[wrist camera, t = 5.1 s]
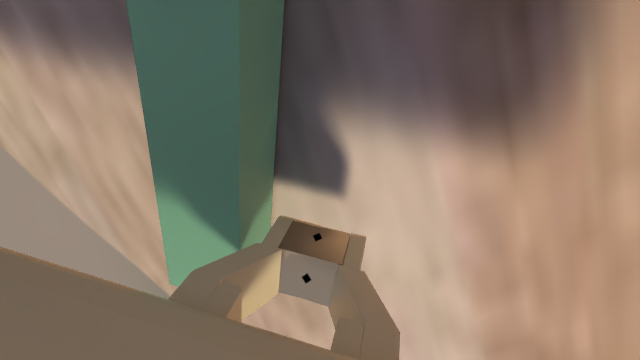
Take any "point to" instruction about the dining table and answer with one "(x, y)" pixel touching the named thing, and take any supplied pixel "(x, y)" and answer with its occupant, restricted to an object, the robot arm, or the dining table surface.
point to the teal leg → (209, 121)
